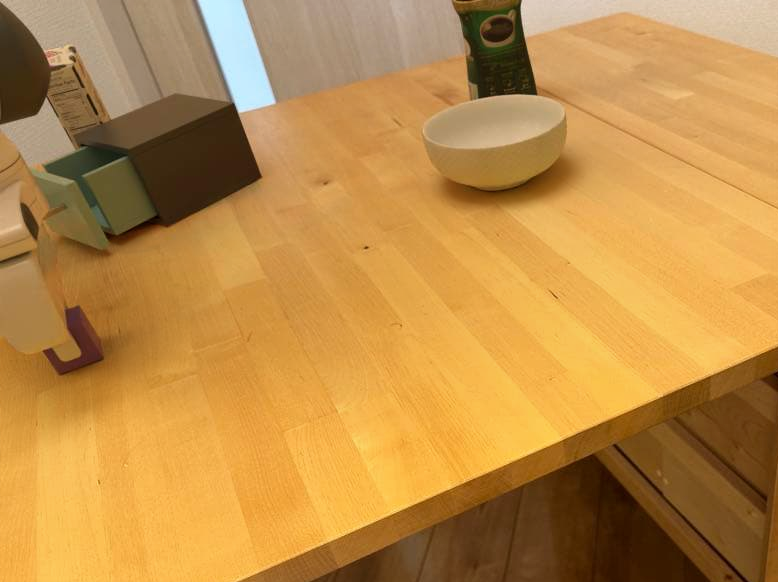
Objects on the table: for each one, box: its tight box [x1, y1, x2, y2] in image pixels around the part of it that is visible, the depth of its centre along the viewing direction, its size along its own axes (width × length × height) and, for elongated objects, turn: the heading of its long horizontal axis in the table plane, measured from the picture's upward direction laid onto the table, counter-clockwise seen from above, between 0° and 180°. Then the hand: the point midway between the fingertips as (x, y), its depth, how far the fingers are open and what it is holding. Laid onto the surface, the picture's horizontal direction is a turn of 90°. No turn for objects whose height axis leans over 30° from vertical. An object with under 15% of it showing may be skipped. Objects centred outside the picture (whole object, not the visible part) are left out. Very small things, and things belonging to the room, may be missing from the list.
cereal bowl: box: [421, 95, 568, 192], centre depth 89 cm, size 17×17×7 cm
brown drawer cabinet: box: [73, 93, 263, 228], centre depth 97 cm, size 15×13×10 cm
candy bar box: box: [43, 43, 112, 151], centre depth 102 cm, size 11×5×16 cm, turn 25°
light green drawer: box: [28, 145, 157, 251], centre depth 90 cm, size 18×12×8 cm, turn 145°
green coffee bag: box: [451, 0, 538, 101], centre depth 105 cm, size 10×8×19 cm
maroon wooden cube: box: [42, 304, 105, 376], centre depth 71 cm, size 4×4×4 cm
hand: (70, 342), depth 71 cm, fingers closed on maroon wooden cube, 4 cm apart
